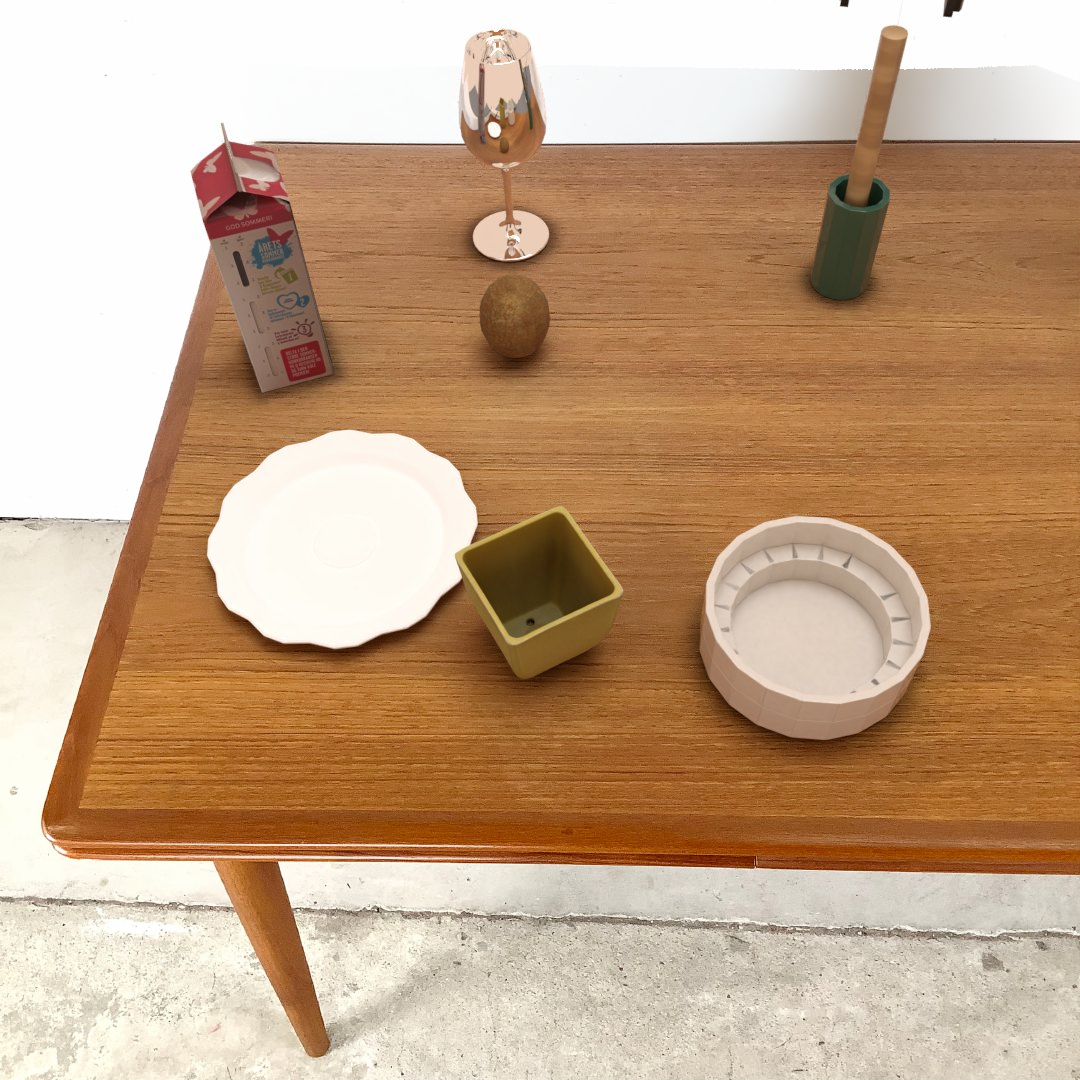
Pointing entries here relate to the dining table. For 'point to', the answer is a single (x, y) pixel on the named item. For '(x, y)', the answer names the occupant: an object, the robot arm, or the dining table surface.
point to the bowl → (812, 626)
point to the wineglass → (503, 132)
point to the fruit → (514, 316)
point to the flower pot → (541, 591)
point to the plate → (341, 538)
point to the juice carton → (262, 263)
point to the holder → (848, 241)
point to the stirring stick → (875, 114)
